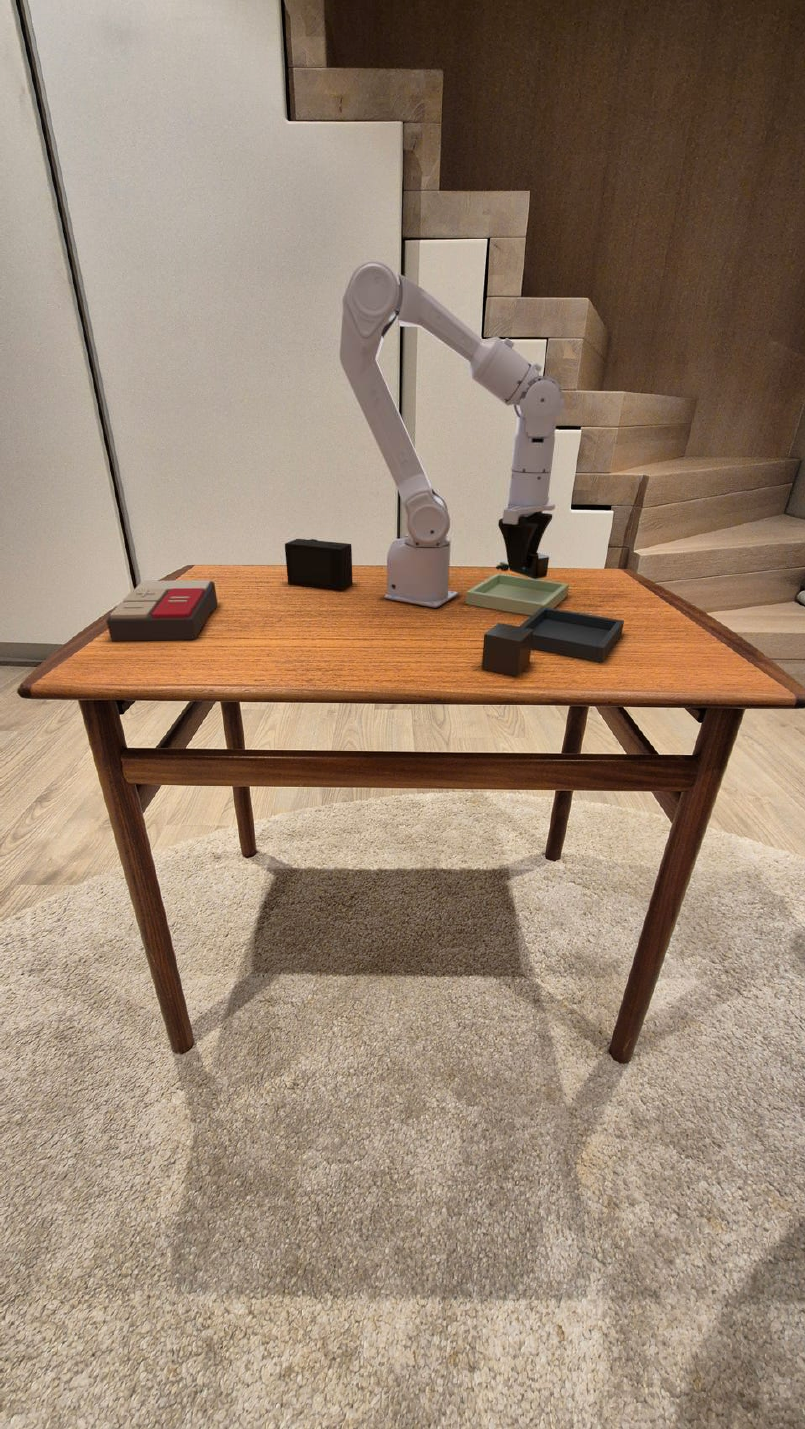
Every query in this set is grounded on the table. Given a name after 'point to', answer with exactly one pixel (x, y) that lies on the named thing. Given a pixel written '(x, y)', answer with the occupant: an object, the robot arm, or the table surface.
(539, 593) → the pale tray
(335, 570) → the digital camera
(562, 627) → the dark tray
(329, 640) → the table surface
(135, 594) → the calculator
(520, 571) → the wireless earbuds
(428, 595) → the robot arm
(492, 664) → the charcoal block
